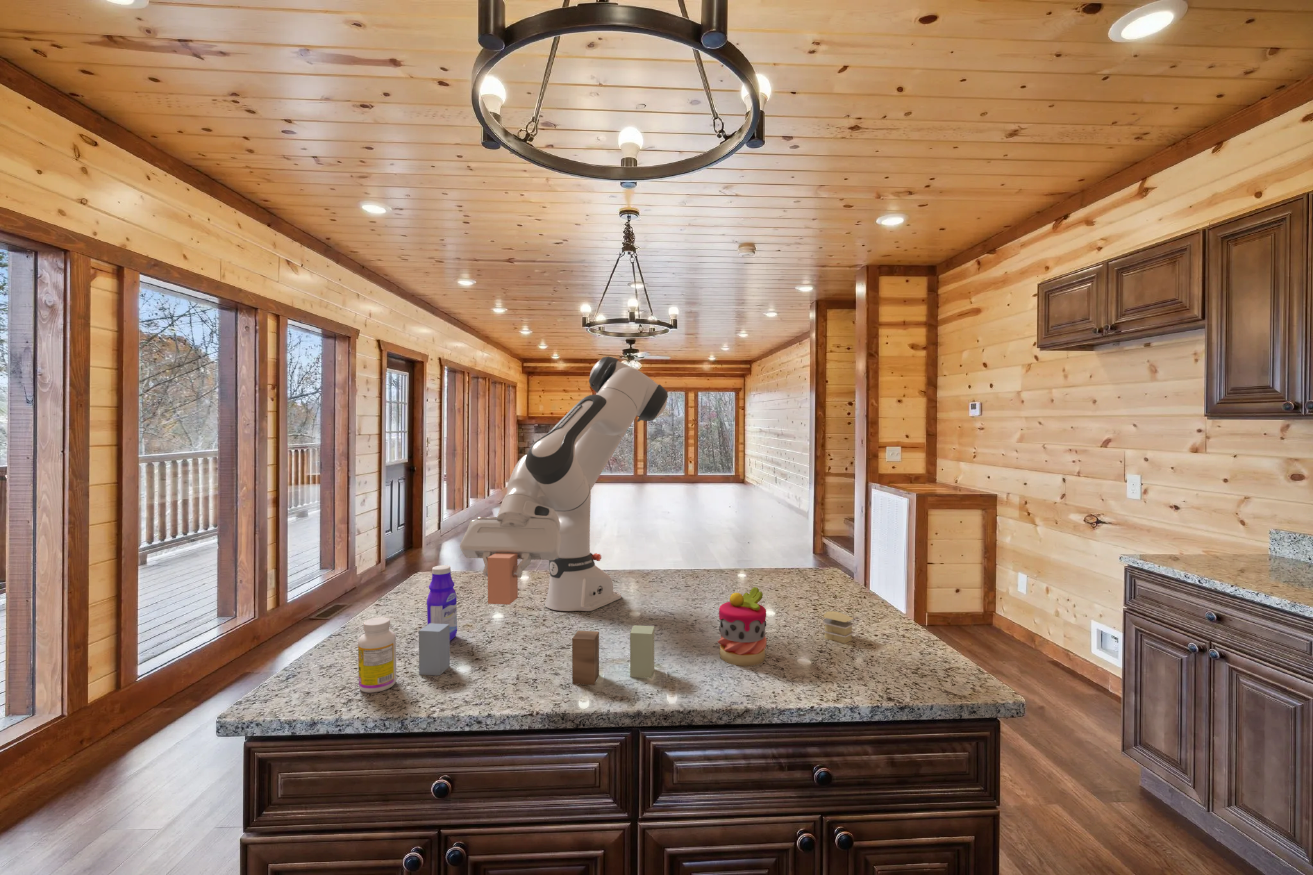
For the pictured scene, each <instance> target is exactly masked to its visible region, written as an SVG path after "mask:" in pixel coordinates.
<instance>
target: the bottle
mask: <svg viewBox="0 0 1313 875" xmlns="http://www.w3.org/2000/svg"><path fill="white" fill-rule="evenodd" d="M431 571H432V572H431V574H432V575H431V581H430V584H429V585H428V589H429V593H428V595H427V599H426V615H427V616H426V622H427V623H426V626H427V625H428V624H429V623H433V624H449V631H450V641H452V640H453V639H454V638H455V637H456V636H457V632H458V619H457V618H458V614H457V613H458V612H457V610H458V608H457V607H458V604H457V602H458V601H457V597H458V596H457V593H456V590H455V588H454V586H455V581H453V579H452V575H451V573H452V572H451V566H450V565H448V564H447V565H446V564H443V565H441V564H440V565H436V566H433V567H432V569H431Z"/></svg>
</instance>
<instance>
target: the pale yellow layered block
mask: <svg viewBox="0 0 1313 875" xmlns="http://www.w3.org/2000/svg"><path fill="white" fill-rule="evenodd" d="M822 617H823V618H824V619H823V620H822V624H824V628H822V631H823V633H824V639H826V640H828V641H835V642H837V643H842V644H847V643H848V642H851V641H853V640H852V637H853V636H852V635H853V634H854V631H853V626H854V625H855V624H854V622H853V623H852V622H850V621H851V620H854V617H851V616H849V615H847V614H844V613H841V612H838V611H833V610H832V611H829V610H828V611H826V612H825V613H824V614H823V615H822Z"/></svg>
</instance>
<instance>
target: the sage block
mask: <svg viewBox="0 0 1313 875" xmlns="http://www.w3.org/2000/svg"><path fill="white" fill-rule="evenodd" d="M629 641H630V642H629V657H630V658H629V676H630V677H629V678H639V679H641V678H642V679H644V678H645V679H652V678H653V676H654V675H653V674H654V673H655V626H653V625H633V626H632V628H631V631H630V632H629Z"/></svg>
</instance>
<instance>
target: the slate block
mask: <svg viewBox="0 0 1313 875" xmlns="http://www.w3.org/2000/svg"><path fill="white" fill-rule="evenodd" d="M450 642H451V640H450V631H449V624H433V623H429V624H428V625H427V624H426V625H425V626H423V627H422V628H420V629H419V630H418V675H422V676H439V677H440V676H441V675H442V674H443V673H445V671H446V670H448V669H449V668H450V667H451V666H450V663H451V662H450V660H451V659H450V658H451V657H450V656H451V655H450Z"/></svg>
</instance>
